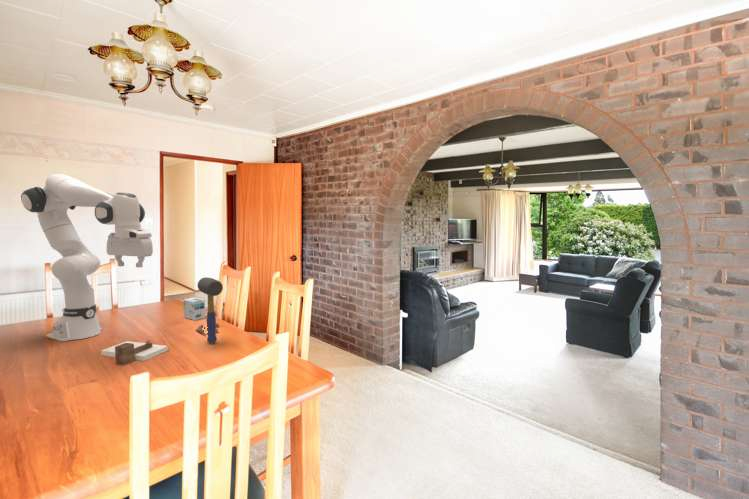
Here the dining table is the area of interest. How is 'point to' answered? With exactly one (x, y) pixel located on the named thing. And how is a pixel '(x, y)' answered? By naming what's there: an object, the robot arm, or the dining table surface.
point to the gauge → (129, 352)
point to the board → (139, 356)
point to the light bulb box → (194, 308)
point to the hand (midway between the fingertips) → (130, 266)
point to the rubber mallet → (210, 304)
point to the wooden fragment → (207, 329)
